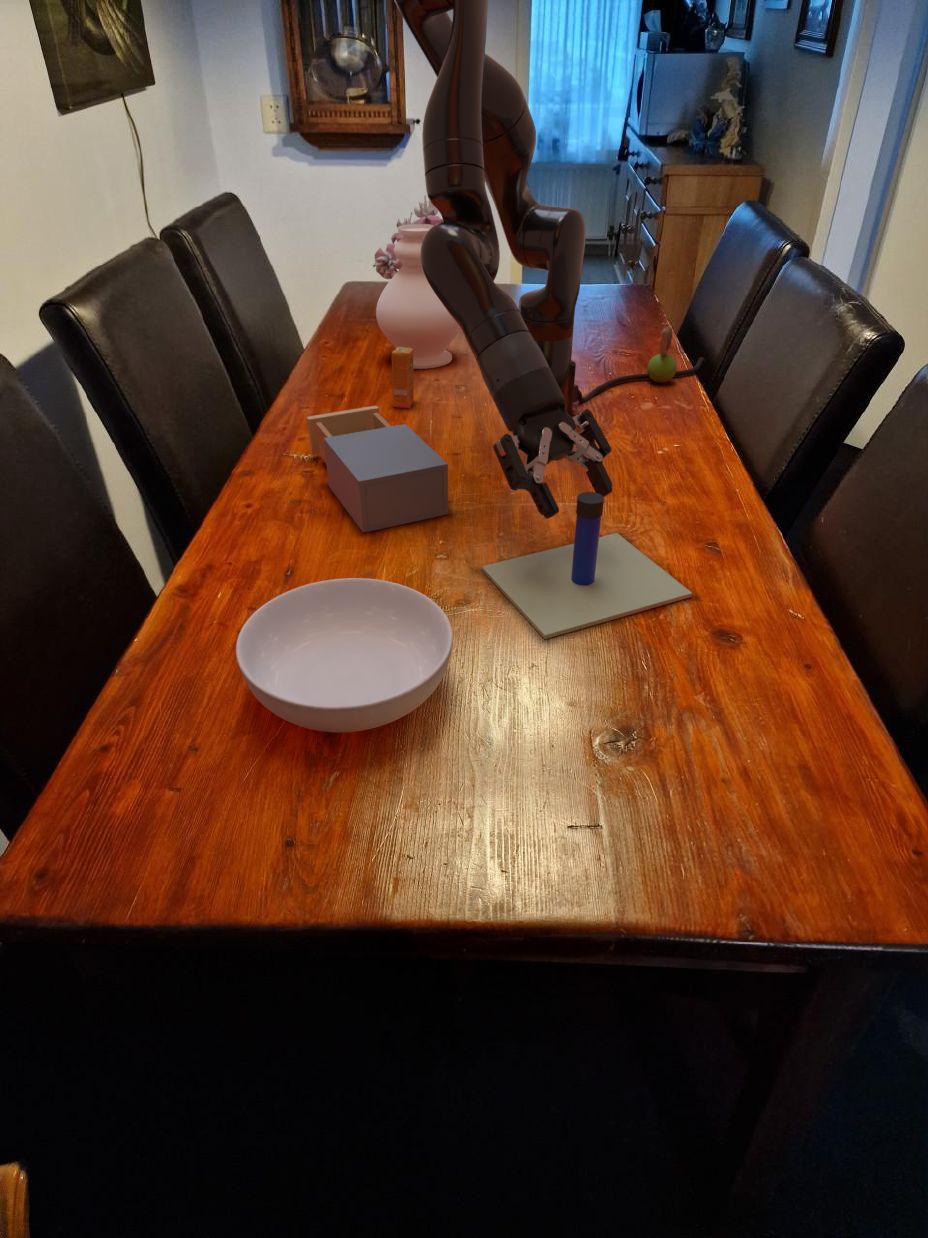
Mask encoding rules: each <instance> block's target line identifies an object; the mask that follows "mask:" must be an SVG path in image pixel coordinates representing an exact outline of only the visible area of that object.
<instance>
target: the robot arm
mask: <svg viewBox="0 0 928 1238" xmlns="http://www.w3.org/2000/svg"><path fill="white" fill-rule="evenodd" d="M393 1H394V3H395V5H396V7H397V9H398V11H399V13H400V15H401V17H402V19H403V20H404V22H405V25H406V26H407V28H408V29H409V30H410V33H411V34H412V36H413V38H414V39H415V41H416V43H417V44H418V47H419V48H420V50H421V51H422V54H423V55H424V57H425V58H426V60H427V62H428V64H429V66H430V67H431V69H432V71H433V73H434V75H435V76H436V80H435V83H434V85H433V88H432V90H431V93H430V96H429V99H428V102H427V105H426V107H425V112H424V117H423V123H422V134H421V135H422V157H423V169H424V170H423V172H424V181H425V182H424V183H425V190H426V191H425V192H426V195H427V198H428V201H429V200H430V202H431V203H432V204H433V205H434V206H435V208H436V209H437V210H438V213H439V214H440V216H441V219H442V220H443V222H442V223H439V224H436V225H435V226H433V227H432V228H431V229H430V230H429V231H428V232H427V233H426V235H425V237H424V239H423V241H422V245H421V252H420V256H421V264H422V268H423V271H424V274H425V277H426V279H427V281H428V283H429V284H430V286H431V288H432V289H433V291H434V292H435V294H436V295H437V297H438V298H439V300H440V301H441V302H442V304H443V305H444V306H445V308H446V309H447V311H448V312H449V314H450V315H451V316H452V317H453V318H454V320H455V321H456V322H457V323H458V325H459V326H460V327H461V329H460V330H461V331H462V332H463V335H464V337H465V340H466V342H467V344H468V346H469V348H470V350H471V352H472V355H473V356H474V358H475V361H476V363H477V365H478V368H479V370H480V373H481V374H480V375H481V377H482V380H483V382H484V384H485V386H486V388H487V390H488V392H489V395H490V396H491V398H492V400H493V402H494V404H495V406H496V409H497V411H498V413H499V415H500V417H501V419H502V421H503V423H504V426H505V427H506V429H507V431H508V432H512V435H510V434H508V433H505V434H503V435H502V436H501V437H500V438H499V439H498V440H497V441H496V442H495V443H494V444H493V448H492V449H493V450H494V454H495V455H496V458H497V461H498V463H499V466H500V467H501V470H502V472H503V474H504V477H505V480H506V482H507V484H508V486H509V488H510V490H511V491H515V492H516V491H518V490H525V491H526V492H528V494H530V497H531V499H532V501H533V503H534V504H535V505H534V506H535V507H536V509H537V511H538V513H539V514H540V515H541V516H543V517H544V518H545V519H546V520H548V519H551V518H553V517H555V516H556V515H557V514H559V513H560V507H559V506H558V504H557V502H556V499H555V498H554V495H553V493H552V491H551V489H550V487H549V485H548V483H547V481H546V482H544V476H545V469H546V466H547V465H549V464H550V463H551V462H553V461H554V462H555V461H561V460H563V459H564V458H565V459H566V460H567V461H568V462H575V463H576V464H578V465H579V466H581V467H582V468H583V469H585V470H587V471H585V475H586V476H587V478H588V480H589V482H590V484H591V486H592V488H593V490H594V492H595V493H599V494H601V495H602V496H603V497H604V498H605V497H607V496H609V495H610V494H612V493H613V481H612V480H611V478H610V476H609V474H608V471H607V470H606V467H605V465H604V462H603V461H604V459H605V458H606V457H607V456H608V455H609V454H610V453H612V446H611V445H610V443H609V441H608V439H607V438H606V436H605V434H604V432H603V430H602V429H601V426H600V425H599V423H598V422H597V419H596V417H595V416H594V414H593V412H592V410H590V409H589V408H585V409H583V410H582V411H581V412H580V413H579V414H577V415H574V416H573V405H574V404H575V403H578V402H579V403H581V404H583V403H587V402H588V401H590V400H591V399H593V398H594V397H595V396H596V395H597V394H598V393H599V392H601V391H603V390H605V389H607V388H609V387H611V386H613V385H616V384H619V383H624V382H629V381H635V380H636V381H637V380H648V379H649V380H650V379H651V378H650V377H649V375H648V373H638V374H636V373H635V374H628V375H624V376H619V377H615V378H613V379H610V380H608V381H605V382H604V383H602V384H600V385H598V386H597V387H595V388H593V389H592V390H591V391H590V392H589V393H588V394H587V395H586V396H584V397H583V393H582V391H581V390H580V389H579V385H578V384H575V381H576V368H577V363H576V361H574V360H573V359H572V356H573V355H572V354H573V344H574V343H573V341H574V328H575V314H576V305H577V302H578V299H579V295H580V290H581V289H580V288H581V280H582V271H583V264H584V256H585V248H586V236H587V235H586V234H587V233H586V223H585V219H584V216H583V214H582V212H580V211H579V210H578V209H575V208H572V207H566V206H565V207H564V206H557V205H548V204H541V203H539V202H538V201H537V200H536V199H535V197H534V195H533V193H532V191H531V187H530V185H529V182H528V174H529V171H530V167H531V164H532V161H533V158H534V155H535V150H536V144H537V130H536V126H535V123H534V119H533V116H532V113H531V109H530V108H529V105H528V102H527V100H526V97H525V95H524V92H523V89H522V87H521V85H520V83H519V82H518V81H517V79H516V77H514V75H513V74H511V72H509V71H508V70H507V69H506V68H505V67H504V66H503V65H501V64H500V62H498V61H496V59H494V58H493V57H491V56H490V55H488V54H487V53H486V47H487V46H486V44H487V30H488V29H487V27H488V10H489V9H488V8H489V0H393ZM451 11H453V12H452V19H451V17H450V15H449V13H448V12H451ZM486 187H487V189H486ZM487 190H488V192H489V193H490V194H489V195H490V197H491V198H492V201H493V204H494V206H495V209H496V212H497V215H498V218H499V222H500V224H501V227H502V230H503V233H504V237H505V240H506V242H507V245H508V249H509V250H510V253H511V255H512V257H513V258H514V260H515V261H516V262H517V264H519V265H521V266H522V267H525V268H527V269H532V270H537V271H538V270H539V271H545V272H547V275H546V281H545V285H544V286H543V287H542V288H538V289H534V290H529V291H527V292H525V293H523V294H522V295H521V296H520V297H519V300H518V306H517V304H516V302H515V301H514V300H513V298H512V297H511V296H510V295H509V294H508V293H506V292H505V291H503V290H502V289H501V288H500V287H499V286H498V285H497V284H496V283H495V279H496V278H497V275H498V272H499V268H500V259H501V258H500V257H501V256H500V255H501V252H500V241H499V237H498V231H497V227H496V223H495V220H494V219H495V218H494V215H493V210H492V206H491V203H490V200H489V197H488V193H487ZM706 364H707V362H706V359H705V357H703V356H700V357H698V359H697V362H696V364H695V365H694V366H693V367H691V368H688V369H683V370H676V373H675V375H674V376H673V377H681V376H687V375H691V374H694V373H696V372H698V370H699V369H700V368H701V366H702V365H706ZM574 446H576V447H574ZM519 451H521V452H522V453H524V454H525V458H524V463H523V460H522V458H521V456H520V452H519Z"/></svg>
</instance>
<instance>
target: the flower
mask: <svg viewBox="0 0 928 1238" xmlns="http://www.w3.org/2000/svg"><path fill="white" fill-rule="evenodd" d="M426 195H427V194H426ZM426 195H424V199H423V200H424V202H422V201H419V202H418V207H419V208H418V207H417V206H414V209H413V212H414V215H415V216H416V217H417V218H418V219H417V220H413V221H411V220H412V215H413V212H410V217H409V218H403V220H404V221H403V222H401V220H400V218H398V219H397V223H396V225H395V226H396V228H397V229H398V227H399V226H402V225H409V224H429V225H434V226H435V225H436V224H439V223H442V222H443V219H442V218H440V216H439V215H437V214H439V211H438V210H437V209H436V208H435V206H434V205H433V204H432V203H431V202H430V200H429V199H428V200H427V198H426ZM402 237H403V235H402V234H400V233H398V232H395V233H393V234H392V235H391V238H390V240H391V243H388V244H386V248H385V251H384V250H383V249H382V248H381V247H379V248H378V249H377V250H376V251H375V253H374V263H373V265H372V267H373V268H375V271H376V273H377V274H379V275H380V277H382V278H383V279H385V280H391V279H392V277H393V276H394V275H395V274H396V273H397V272H398V270H399V269H400V268H401V267H402V266H403V264H402V263H401V262H400V261H399V260H398V259H397V258H396V256H395V254H394V247H395V245H396V243H397V242H398V241H399V240H400V239H401V238H402ZM395 242H396V243H395Z"/></svg>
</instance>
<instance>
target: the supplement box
mask: <svg viewBox="0 0 928 1238" xmlns="http://www.w3.org/2000/svg"><path fill="white" fill-rule="evenodd" d="M391 391H392V392H391V393H392V394H391V395H392V396H391V397H392V399H391V400H392V407H393V408H400V409H410V408H411V406H412V405H413V404H414V368H413V349H411V348H406V347H396V348H395V349H393V350H392V351H391Z"/></svg>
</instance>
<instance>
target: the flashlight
mask: <svg viewBox="0 0 928 1238" xmlns="http://www.w3.org/2000/svg"><path fill="white" fill-rule="evenodd" d="M604 502H605V497H603V496H602V495H601V494H599V493H596V492H595V491H584V492H581V493H578V495H577V498H576V508H575V514H576V519H575V531H574V542H573V544H574V552H573V563H572V574H571V580H572V581H573V582H574V583H575V584H578V585H590V584H592V583H593V582H594V579H595V570H596V560H597V551H598V542H599V537H600V531H601V524H602V516H603V513H604V511H603V510H604Z"/></svg>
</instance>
